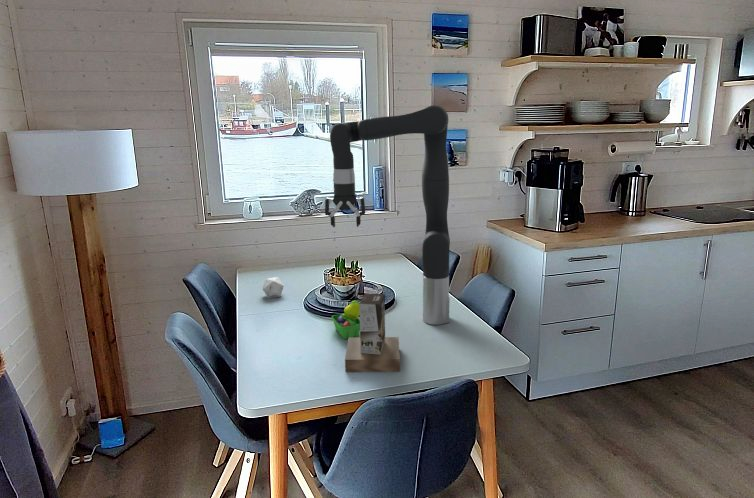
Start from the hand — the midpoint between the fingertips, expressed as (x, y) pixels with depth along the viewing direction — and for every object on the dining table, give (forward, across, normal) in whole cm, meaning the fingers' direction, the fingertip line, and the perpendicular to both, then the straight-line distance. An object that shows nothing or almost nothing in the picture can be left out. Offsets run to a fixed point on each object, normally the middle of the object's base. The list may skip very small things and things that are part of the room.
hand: (345, 226), depth 183 cm
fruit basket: (+34, -1, +16) cm, 38 cm away
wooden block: (+34, -10, +36) cm, 51 cm away
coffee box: (+30, -10, +36) cm, 48 cm away
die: (+34, +33, -21) cm, 52 cm away
